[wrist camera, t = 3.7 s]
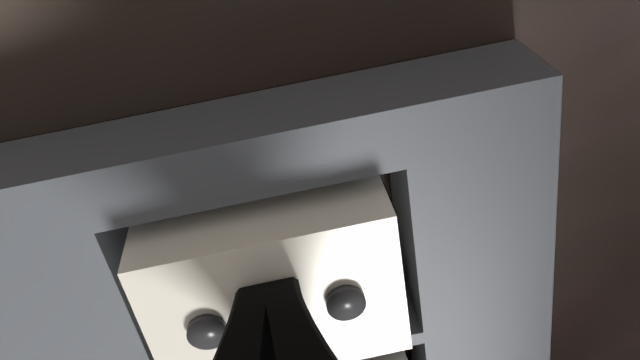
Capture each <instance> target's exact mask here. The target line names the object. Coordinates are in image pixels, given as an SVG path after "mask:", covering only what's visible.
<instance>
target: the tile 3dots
mask: <svg viewBox="0 0 640 360" xmlns="http://www.w3.org/2000/svg"><path fill="white" fill-rule="evenodd" d="M117 275H118V278H119V280H120V282H121V284H122V287H123V289H124V291H125V294H126V296H127V298H128V301H129V303H130V305H131V307H132V310H133V312H134V314H135V317H136V319H137V321H138V324H139V326H140V328H141V331H142V333H143V335H144V337H145V340H146V342H147V344H148V347H149V349H150V351H151V354H152V356H153V358H154V360H213V358H214V355H215V353H216V350H217V348H218V345H219V343H220V340H221V338H222V335H223V332H224V329H225V327H226V324H227V321H228V318H229V315H230V311H231V308H232V305H233V301H234V297H235V293H236V292H237V290H238V289H239V288H242V287H247V286H251V285H256V284H261V283H266V282H270V281H275V280H280V279H285V278H289V277H294V278H296V279H298V280H299V284H300V289H301V293H302V296H303V299H304V301H305V303H306V306H307V308H308V310H309V312H310V314H311V316H312V318H313V320H314V322H315V324H316V325H317V327H318V329H319V330H320V332H321V334H322V335H323V337H324V339H325V340H326V342H327V344H328V345H329V347H330V348H331V350H332V351H333V353H334V354H335V356H336V357H337V358H338V360H361V359H366V358H371V357H375V356H380V355H385V354H390V353H394V352H399V351H404V350H408V349H412V341H411V332H410V324H409V316H408V307H407V299H406V290H405V282H404V274H403V265H402V257H401V249H400V240H399V232H398V223H397V216H396V213H395V211H394V209H393V206H392V204H391V202H390V199H389V197H388V194H387V192H386V190H385V187H384V185H383V182H382V180H381V178H380V175H377V176H372V177H367V178H362V179H357V180H353V181H348V182H343V183H338V184H333V185H328V186H323V187H319V188H314V189H309V190H304V191H299V192H294V193H289V194H285V195H280V196H275V197H270V198H265V199H260V200H255V201H251V202H246V203H241V204H236V205H231V206H226V207H221V208H217V209H212V210H207V211H202V212H197V213H192V214H187V215H182V216H178V217H173V218H168V219H163V220H158V221H153V222H148V223H144V224H139V225H134V226H129V229H128V233H127V237H126V241H125V245H124V249H123V253H122V257H121V261H120V265H119V269H118V273H117Z"/></svg>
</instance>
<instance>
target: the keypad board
mask: <svg viewBox="0 0 640 360" xmlns="http://www.w3.org/2000/svg"><path fill="white" fill-rule="evenodd" d="M562 84H563V75H562V74H561V73H560V72H558V71H557V70H556V69H554V68H553V67H552V66H550V65H549V64H548V63H546V62H545V61H544V60H543V59H541V58H540V57H539V56H537V55H536V54H535V53H533V52H532V51H531V50H529V49H528V48H527V47H526V46H524V45H523V44H522V43H520V42H519V41H518V40H516V39H513V40H508V41H503V42H498V43H493V44H489V45H484V46H479V47H474V48H469V49H464V50H459V51H454V52H449V53H444V54H439V55H434V56H429V57H424V58H419V59H414V60H409V61H404V62H399V63H394V64H389V65H384V66H379V67H374V68H370V69H365V70H360V71H355V72H350V73H345V74H340V75H335V76H330V77H325V78H320V79H315V80H310V81H305V82H300V83H295V84H290V85H285V86H280V87H275V88H270V89H265V90H260V91H255V92H251V93H246V94H241V95H236V96H231V97H226V98H221V99H216V100H211V101H206V102H201V103H196V104H191V105H186V106H181V107H176V108H171V109H166V110H161V111H156V112H151V113H146V114H141V115H136V116H132V117H127V118H122V119H117V120H112V121H107V122H102V123H97V124H92V125H87V126H82V127H77V128H72V129H67V130H62V131H57V132H52V133H47V134H42V135H37V136H32V137H27V138H22V139H17V140H12V141H8V142H3V143H0V360H154V358H153V356H152V354H151V351H150V349H149V347H148V344H147V342H146V340H145V337H144V335H143V333H142V331H141V328H140V326H139V324H138V321H137V319H136V317H135V314H134V312H133V310H132V307H131V305H130V303H129V301H128V298H127V296H126V294H125V291H124V289H123V287H122V284H121V282H120V280H119V278H118V275H117V273H118V269H119V265H120V261H121V257H122V253H123V249H124V245H125V241H126V237H127V233H128V229H129V226H134V225H139V224H144V223H148V222H153V221H158V220H163V219H168V218H173V217H178V216H182V215H187V214H192V213H197V212H202V211H207V210H212V209H217V208H221V207H226V206H231V205H236V204H241V203H246V202H251V201H255V200H260V199H265V198H270V197H275V196H280V195H285V194H289V193H294V192H299V191H304V190H309V189H314V188H319V187H323V186H328V185H333V184H338V183H343V182H348V181H353V180H357V179H362V178H367V177H372V176H377V175H382V174H387V173H389V177H390V186H391V194H392V202H393V209H394V211H395V213H396V216H397V223H398V232H399V240H400V249H401V257H402V265H403V274H404V282H405V290H406V299H407V307H408V316H409V324H410V332H411V341H412V349H410V350H411V358H412V360H550V347H551V325H552V303H553V281H554V259H555V238H556V216H557V194H558V172H559V150H560V128H561V106H562Z"/></svg>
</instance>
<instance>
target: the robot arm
mask: <svg viewBox="0 0 640 360" xmlns="http://www.w3.org/2000/svg"><path fill="white" fill-rule="evenodd" d="M213 360H338V358H337V357H336V356H335V354H334V353H333V351H332V350H331V348H330V347H329V345H328V344H327V342H326V340H325V339H324V337H323V335H322V334H321V332H320V330H319V329H318V327H317V325H316V324H315V322H314V320H313V318H312V316H311V314H310V312H309V310H308V308H307V306H306V303H305V301H304V299H303V296H302V293H301V289H300V284H299V280H298V279H296V278H294V277H289V278H285V279H280V280H275V281H270V282H266V283H261V284H256V285H251V286H247V287H242V288H239V289H238V290H237V292H236V293H235V297H234V301H233V305H232V308H231V311H230V315H229V318H228V321H227V324H226V327H225V329H224V332H223V335H222V338H221V340H220V343H219V345H218V348H217V350H216V353H215V355H214V358H213Z"/></svg>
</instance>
